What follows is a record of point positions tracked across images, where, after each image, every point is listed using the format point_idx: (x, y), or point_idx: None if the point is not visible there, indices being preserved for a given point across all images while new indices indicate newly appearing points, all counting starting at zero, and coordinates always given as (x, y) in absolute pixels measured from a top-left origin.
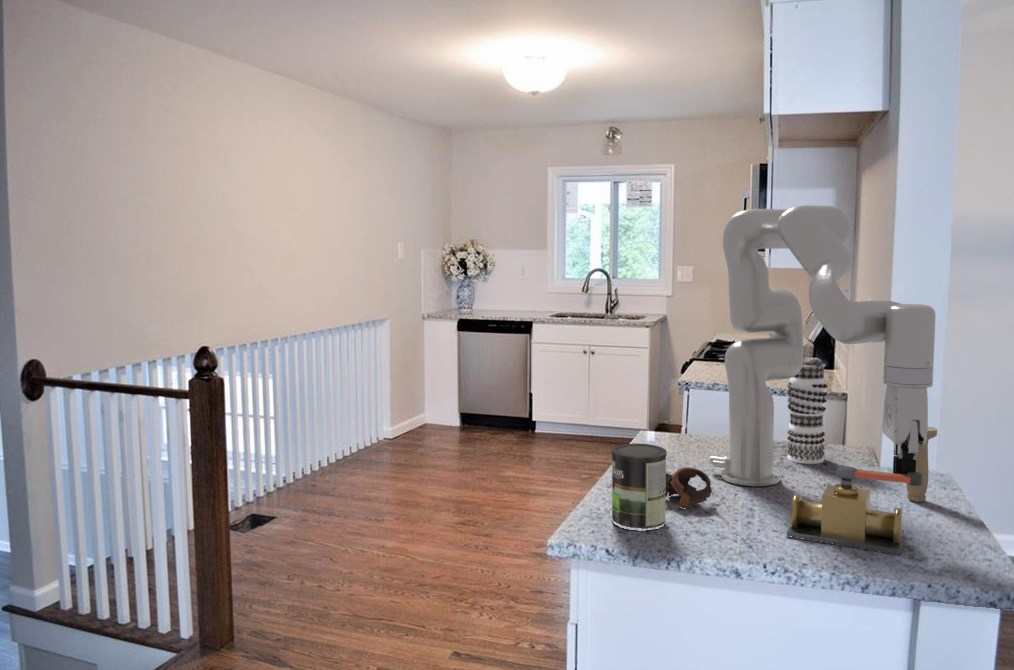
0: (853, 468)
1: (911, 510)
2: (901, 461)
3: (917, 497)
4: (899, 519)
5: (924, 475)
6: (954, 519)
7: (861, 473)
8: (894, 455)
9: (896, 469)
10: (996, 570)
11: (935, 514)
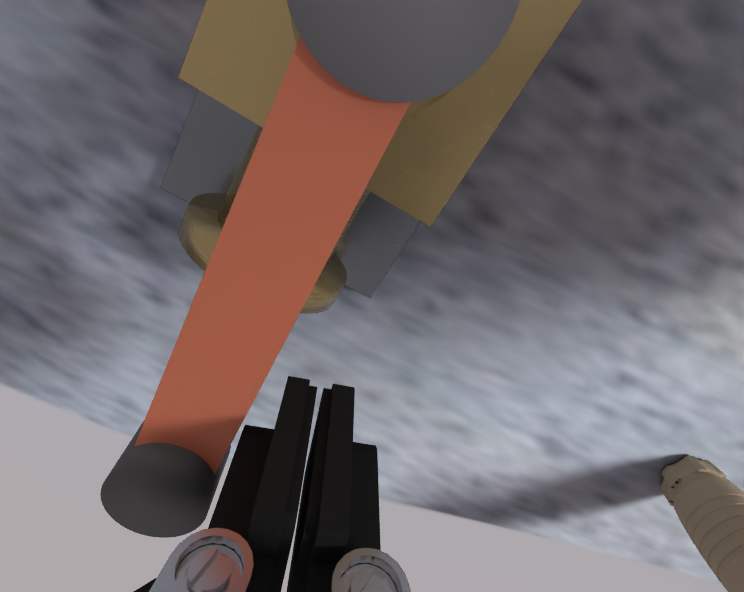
0: (404, 70)
1: (603, 422)
2: (228, 527)
3: (672, 480)
4: (185, 245)
5: (718, 570)
6: (498, 488)
7: (274, 109)
8: (367, 548)
9: (274, 436)
10: (91, 403)
11: (550, 464)
